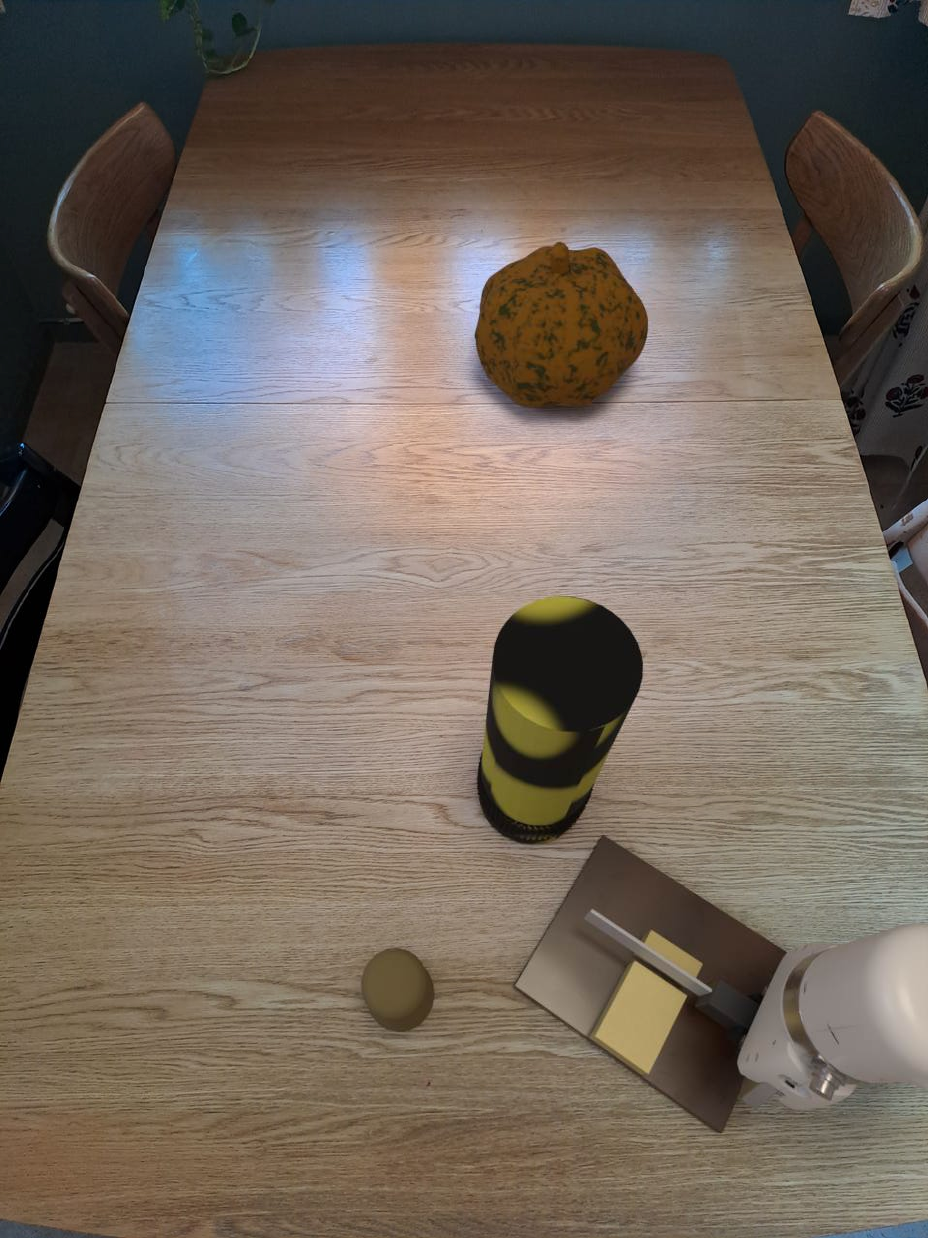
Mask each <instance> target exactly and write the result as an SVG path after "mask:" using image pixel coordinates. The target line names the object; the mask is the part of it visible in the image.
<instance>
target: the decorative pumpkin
mask: <svg viewBox="0 0 928 1238" xmlns="http://www.w3.org/2000/svg"><path fill="white" fill-rule="evenodd" d="M648 333H649V317H648V313H647V309H646V307H645V304H644V302H643V301H642V299H641V297H640V296H639V294H637V292H636V291H635V290H634V288H633V286H632V285H630V283H629V282H628V280H627V279H626V277H625V275H623V273H622V272H621V270H620V268H619V267H618V265H617V263H616V262H615V260H614V259H613V258H612V257H611V256H610V255H609V253H608V252H607V251H606V250H603V249H602V248H599V247H595V246H594V247H592V246H591V247H588V248H581V249H570V248H569V246H568V245H566V243H565V242H562V241H557V242H555V243H554V244H553V246H551V245H545V246H544V245H543V246H541V247H539V248H537V249H535V250H533V251H532V252H530V253H529V254H528V255H526V256H525V257H523V258H520V259H518V260H515V261H513V262H510V263H508V264H506V265H504V266H503V267H502V268H500V269H499V270H497V271H496V272H495V273H493V274H492V275H490V276H489V278H488V279H487V280H486V281H485V284H484V285H483V288H482V290H481V295H480V302H479V314H478V318H477V323H476V327H475V331H474V335H473V337H474V340H475V348H476V352H477V356H478V358H479V362H480V365H481V367H482V370H483V371H484V373H485V375H486V377H487V378H488V380H489V381H490V382H491V383H492V384H494V385H495V386H496V387H497V388H498V389H499V390H500V391H501V392H502V393H503V394H505V396H507V397H508V398H509V399H510V400H512V401H513V402H514V403H516V404H517V405H519V406H521V407H527V408H557V407H560V406H564V407H566V406H568V407H575V408H577V407H578V408H581V407H582V408H583V407H584V408H585V407H588V406H590V405H591V404H592V403H594V402H595V401H596V400H598V399H599V398H601V397H602V396H603V395H605V394H606V393H607V392H608V391H609V390H610V389H611V388H612V387H613V386H614V385H615V384H616V383H617V382H618V381H619V379H620V378H621V377H622V376H623V375H624V374H625V373H626V372H627V371H628V370H629V369H630V368H631V367H632V366H633V365H634V364H635V363H636V361H638V359H639V357H640V356H641V354H642V352H643V350H644V348H645V345H646V341H647V339H648Z"/></svg>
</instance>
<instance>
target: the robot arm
mask: <svg viewBox="0 0 928 1238" xmlns="http://www.w3.org/2000/svg"><path fill="white" fill-rule="evenodd" d="M786 952H787V953H786V954H785V956H784V957H783V959H782V961H781V962H780V964H779V966H778V968H777V970H776V972H775V974H774V977H773V979H772V981H771V982H770V983H768V984H767V985H766V987H765V988H764V990H763V993H762V994H759V993H756V994H752V995H748V996H747V997H749V998H750V999H752V1000H753V1001H755V1002H756V1003H757V1004H759V1005H760V1007H759V1009H758V1012H757V1014H756V1016H755V1018H754V1021H753V1023H752V1025H751V1028H750V1030H748V1029H746V1028H739V1029H732V1030H729V1031H728V1032H727V1034H726V1036H725V1037H726V1038H727V1039H728V1040H730V1041H731V1042H733V1043H734V1044H736V1045H737V1046H736V1048H735V1052H736V1053H737V1054H738V1055H739V1057H738V1061H737V1063H738V1068H739V1071H740V1073H741V1074H742V1075H744V1076H746V1077H744V1080H743V1083H742V1087H741V1090H740V1094H739V1096H738V1100H740V1101H741V1102H743V1104H745V1105H747V1107H750V1108H751V1109H753V1110H754V1111H756V1110H758V1108H760V1107H762V1105H764V1104H765V1103H766V1102H767V1101H769V1100H770V1099H771V1098H773V1097H774V1096H775V1095H776V1094H778V1093H779V1092H781V1093H782V1094H779V1095H778V1097H777V1098H778V1099H777V1101H778V1102H779V1103H780V1104H782V1105H783V1106H785V1107H787V1108H788V1109H790V1110H793V1111H807V1110H809V1111H810V1110H816V1109H821V1108H824V1107H829V1106H832V1105H835V1104H838V1103H839V1102H841V1101H843V1100H844V1099H846V1098H848V1097H849V1096H851V1095H852V1094H853V1093H854V1091H855V1090H856V1088H857V1087H858V1086H859V1084H913V1085H915V1086H916V1087H918V1088H919V1089H921V1090H923V1091H925V1092H926V1093H928V922H927V923H926V922H925V923H924V922H920V923H919V922H916V923H908V924H903V925H899V926H895V927H892V928H889V929H886V930H883V931H880V932H876V933H873V934H871V935H867V936H864V937H861V938H859V939H856V940H852V941H849V942H846V943H843V944H837V943H831V942H824V941H818V942H817V941H816V942H809V943H804V944H800V945H798V946H796V947H794V948H791V949H789V950H788V951H786Z"/></svg>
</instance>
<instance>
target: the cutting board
mask: <svg viewBox="0 0 928 1238" xmlns="http://www.w3.org/2000/svg"><path fill="white" fill-rule="evenodd" d="M591 909H593V910H595V911H596V912H598V913H599V914H601V915H602V916H604V917H605V918H607V919H608V920H610V921H611V922H613V923H614V924H616V925H617V926H619V927H620V928H622V929H623V930H625V931H626V932H628V933H629V934H631V935H632V936H634V937H635V938H637V939H638V940H640V941H641V939H642V937H643V936H644V935H645V934H646V933H648V932H649V931H650V930H653V931H654V932H656V933H657V934H659V935H660V936H662V937H663V938H665V939H666V940H668V941H669V942H671V943H672V944H674V945H675V946H677V947H678V948H680V949H681V950H683V951H684V952H686V953H688V954H689V955H691V956H692V957H694V958H695V959H697V960H698V961H700V962H701V963H702V964H703V965H702V967H701V969H700V971H699V973H698V975H697V977H696V978H697V979H698V980H700V981H701V982H702V983H704V984H706V983H708V982H711V981H714V980H717V979H719V978H720V979H722V980H723V981H725V982H726V983H728V984H729V985H731V986H732V987H734V988H735V989H737V990H738V991H740V992H741V993H743V994H744V995H746V996H748V995H752V994H756V993H759V994H762V993H763V990H764V988H765V987H766V985H767V984H768V983H770V982H771V981H772V979H773V977H774V974H775V972H776V970H777V968H778V966H779V964H780V962H781V961H782V959H783V957H784V956H785V954H786V953H787V952H788V951H786V950H785V949H783V948H782V947H780V946H779V945H777V944H776V943H773V942H772V941H771V940H769V939H768V938H766V937H764V936H763V935H761V934H759V933H758V932H756V931H755V930H753V929H751V928H750V927H749V926H747V925H745V924H744V923H742V922H741V921H739V920H738V919H736V918H734V917H733V916H731V915H730V914H728V913H726V911H723V910H722V909H721V908H719V907H717V906H716V905H714V904H713V903H711V902H710V901H708V900H706V899H705V898H703V897H702V896H700V895H699V894H697V893H695V892H693V891H692V890H691V889H689V888H688V887H686V886H684V885H683V884H682V883H680V882H678V881H677V880H675V879H674V878H672V877H671V876H669V875H667V874H666V873H664V872H662V871H661V870H660V869H658V868H656V867H655V866H653V865H652V864H649V863H648V862H646V861H645V860H643V858H640V857H639V856H638V855H636V854H634V853H632V852H631V851H629V850H628V849H626V848H625V847H624V846H622V845H620V844H619V843H617V842H615V841H614V840H612V839H610V838H609V836H607V835H604V834H602V835H601V836H600V838H599V840H598V841H597V843H596V845H595V846H594V849H593V850H592V852H591V854H590V855H589V857H588V858H587V860H586V862H585V863H584V865H583V867H582V868H581V870H580V873H578V876H577V877H576V879H575V880H574V883H572V885H571V887H570V889H569V891H568V892H567V894H566V896H565V897H564V899H563V901H562V903H561V905H560V906H559V908H558V909H557V911H556V913H555V914H554V916H553V918H552V919H551V922H550V923H549V925H548V926H547V928H546V929H545V932H544V933H543V935H542V937H541V938H540V940H539V942H538V944H537V945H536V947H535V949H534V951H533V952H532V953H531V956H530V957H529V959H528V960H527V962H526V964H525V966H524V967H523V968H522V971H521V972H520V975H519V976H518V977H517V979H516V982H515V983H514V984H513V989H514V990H516V991H517V992H519V994H521V995H523V996H524V997H526V998H527V999H528V1000H530V1001H531V1002H533V1003H534V1004H536V1005H537V1006H538V1007H540V1008H541V1009H542V1010H544V1011H545V1012H547V1013H548V1014H549V1015H550V1016H552V1017H554V1018H555V1019H557V1020H558V1021H559V1022H561V1023H562V1024H563V1025H565V1026H566V1027H568V1029H570V1030H572V1031H573V1032H575V1033H576V1034H577V1035H579V1036H580V1037H582V1038H583V1039H584V1040H586V1042H588V1043H590V1044H591V1045H593V1046H594V1047H596V1048H597V1049H598V1050H600V1051H601V1052H603V1053H604V1054H605V1055H607V1056H608V1057H610V1058H611V1059H612V1060H614V1061H615V1062H617V1063H618V1064H620V1065H621V1066H623V1068H625V1069H627V1070H628V1071H629V1072H631V1073H632V1074H633V1075H634V1076H636V1077H638V1078H639V1079H640V1080H641V1081H643V1082H644V1083H646V1084H648V1085H649V1086H650V1087H652V1088H653V1089H654V1090H656V1091H657V1092H659V1093H660V1094H661V1095H663V1096H664V1097H665V1098H667V1099H668V1100H669V1101H671V1102H672V1103H674V1104H675V1105H677V1106H678V1107H680V1108H681V1109H683V1110H684V1111H685V1112H686V1113H688V1114H690V1115H691V1116H692V1117H694V1118H695V1119H696V1120H698V1121H700V1122H701V1123H702V1124H703V1125H705V1126H706V1127H707V1128H709V1129H710V1130H712V1131H713V1132H715V1133H717V1134H723V1132H724V1130H725V1127H726V1125H727V1123H728V1121H729V1118H730V1116H731V1114H732V1111H733V1109H734V1108H735V1105H736V1103H737V1101H738V1099H739V1094H740V1090H741V1087H742V1083H743V1080H744V1077H746V1076H744V1075H742V1074H741V1073H740V1071H739V1068H738V1063H737V1061H738V1057H739V1055H738V1054H737V1053H736V1052H735V1048H736V1046H737V1045H736V1044H734V1043H733V1042H731V1041H730V1040H728V1039H727V1038H726V1037H725V1036H726V1034H727V1032H728V1031H729V1030H728V1029H726V1028H725V1027H723V1026H722V1025H720V1024H719V1023H717V1022H716V1021H715V1020H713V1019H712V1018H710V1017H709V1016H707V1015H706V1014H704V1013H703V1012H701V1011H700V1010H698V1009H697V1008H695V1004H696V1002H697V1000H698V998H699V996H698V995H696V994H695V993H694V992H692V991H691V990H689V989H688V988H686V987H685V988H683V987H681V986H680V985H678V984H677V983H675V982H674V981H672V980H671V979H669V978H668V977H666V976H665V975H663V974H662V973H660V972H659V971H657V970H656V969H654V968H653V967H651V966H650V965H648V964H647V963H645V962H644V961H643V960H641V959H640V958H638V957H637V956H635V955H634V952H633V951H631V950H630V949H628V948H627V947H625V946H624V945H622V944H621V943H619V942H618V941H616V940H615V939H613V938H612V937H610V936H609V935H607V934H606V933H604V932H603V931H602V930H600V929H599V928H597V927H596V926H594V925H593V924H591V923H590V922H588V921H587V920H585V919H584V918H585V916H586V915H587V914H588V913H589V912H590V910H591ZM633 961H637V962H638V963H640V964H641V965H643V966H644V967H646V968H647V969H649V970H650V971H652V972H653V973H655V974H656V975H658V976H659V977H661V978H662V979H663V980H665V981H666V982H668V983H669V984H671V985H672V986H674V987H675V988H677V989H678V990H680V991H681V992H683V993H684V994H686V995H687V998H686V1000H685V1002H684V1004H683V1006H682V1008H681V1010H680V1012H679V1014H678V1016H677V1018H676V1020H675V1022H674V1024H673V1026H672V1028H671V1030H670V1032H669V1034H668V1036H667V1038H666V1040H665V1042H664V1045H663V1047H662V1049H661V1051H660V1053H659V1055H658V1057H657V1059H656V1061H655V1063H654V1065H653V1067H652V1069H651V1071H650V1073H649V1074H639V1073H638V1072H636V1071H635V1070H634V1069H632V1068H631V1067H629V1066H628V1065H627V1064H625V1063H624V1062H622V1061H621V1060H620V1059H618V1058H617V1057H615V1056H614V1055H613V1054H611V1053H610V1052H608V1051H607V1050H606V1049H604V1048H603V1047H601V1046H600V1045H599V1044H597V1043H596V1042H594V1041H593V1040H592V1039H590V1035H591V1033H592V1032H593V1030H594V1028H595V1026H596V1024H597V1022H598V1020H599V1018H600V1017H601V1015H602V1013H603V1011H604V1009H605V1007H606V1005H607V1003H608V1001H609V1000H610V998H611V996H612V994H613V992H614V990H615V988H616V986H617V985H618V983H619V981H620V979H621V977H622V975H623V973H624V971H625V969H626V968H627V966H628V965H629V964H630V963H632V962H633Z"/></svg>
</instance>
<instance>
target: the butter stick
mask: <svg viewBox="0 0 928 1238" xmlns="http://www.w3.org/2000/svg"><path fill="white" fill-rule="evenodd" d="M686 998H687V995H686V994H684V993H683V992H681V991H680V990H678V989H677V988H675V987H674V986H672V985H671V984H669V983H668V982H666V981H665V980H663V979H662V978H661V977H659V976H658V975H656V974H655V973H653V972H652V971H650V970H649V969H647V968H646V967H644V966H643V965H641V964H640V963H638V962H637V961H633V962H632V963H630V964H629V965H628V966H627V968H626V969H625V971H624V973H623V975H622V977H621V979H620V981H619V983H618V985H617V986H616V988H615V990H614V992H613V994H612V996H611V998H610V1000H609V1001H608V1003H607V1005H606V1007H605V1009H604V1011H603V1013H602V1015H601V1017H600V1018H599V1020H598V1022H597V1024H596V1026H595V1028H594V1030H593V1032H592V1033H591V1035H590V1039H592V1040H593V1041H594V1042H596V1043H597V1044H599V1045H600V1046H601V1047H603V1048H604V1049H606V1050H607V1051H608V1052H610V1053H611V1054H613V1055H614V1056H615V1057H617V1058H618V1059H620V1060H621V1061H622V1062H624V1063H625V1064H627V1065H628V1066H629V1067H631V1068H632V1069H634V1070H635V1071H636V1072H638V1073H639V1074H649V1073H650V1071H651V1069H652V1067H653V1065H654V1063H655V1061H656V1059H657V1057H658V1055H659V1053H660V1051H661V1049H662V1047H663V1045H664V1042H665V1040H666V1038H667V1036H668V1034H669V1032H670V1030H671V1028H672V1026H673V1024H674V1022H675V1020H676V1018H677V1016H678V1014H679V1012H680V1010H681V1008H682V1006H683V1004H684V1002H685V1000H686Z"/></svg>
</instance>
